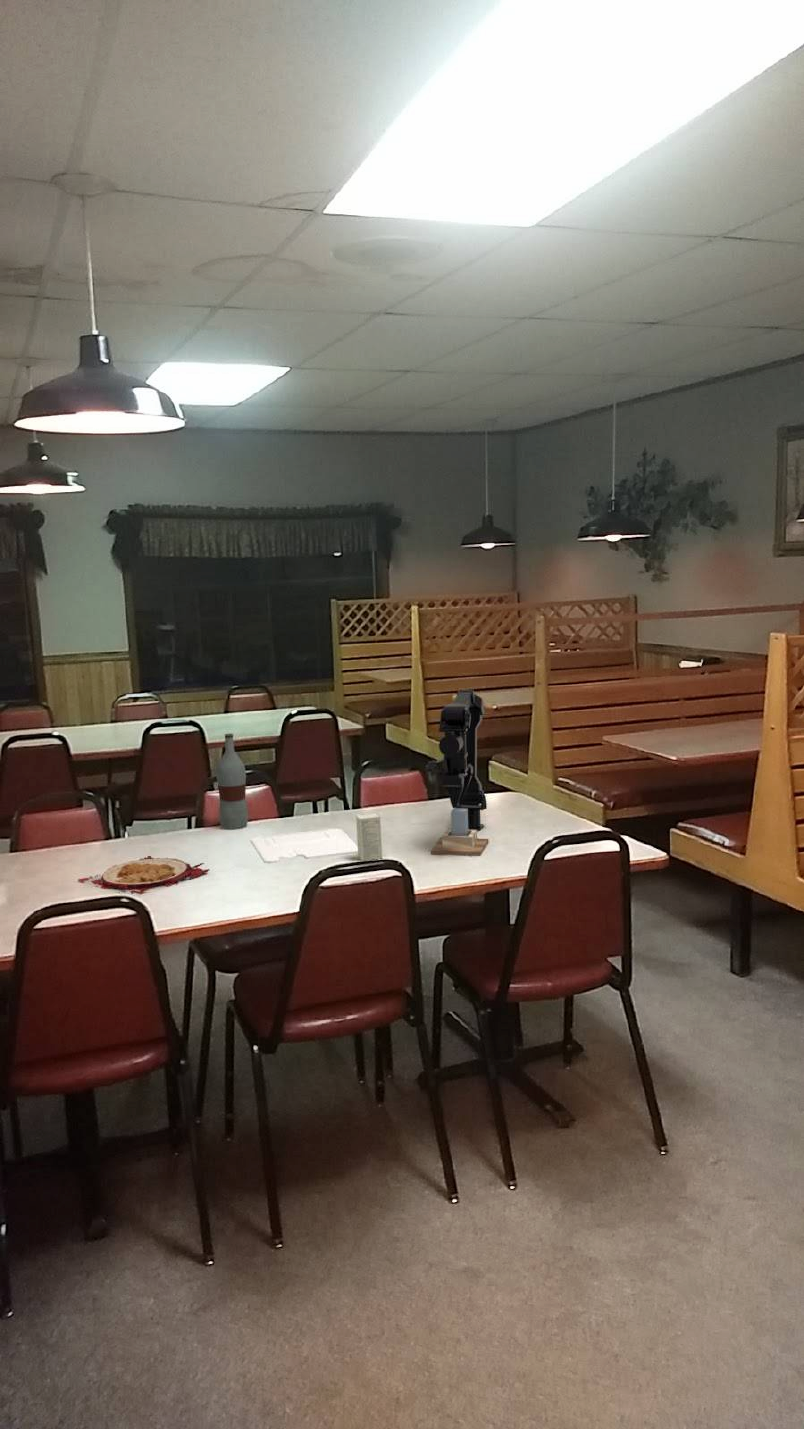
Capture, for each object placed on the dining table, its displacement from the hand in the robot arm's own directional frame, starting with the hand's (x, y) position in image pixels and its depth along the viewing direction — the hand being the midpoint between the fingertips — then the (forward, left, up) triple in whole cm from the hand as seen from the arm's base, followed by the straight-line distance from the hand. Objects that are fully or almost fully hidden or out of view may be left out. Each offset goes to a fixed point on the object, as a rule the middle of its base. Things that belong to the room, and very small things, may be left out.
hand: (457, 804), depth 273 cm
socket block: (+1, +1, -13) cm, 13 cm away
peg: (+1, +1, -12) cm, 12 cm away
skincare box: (+14, -22, -13) cm, 29 cm away
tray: (+4, -45, -14) cm, 48 cm away
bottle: (-15, -76, -13) cm, 79 cm away
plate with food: (+40, -78, -14) cm, 88 cm away
